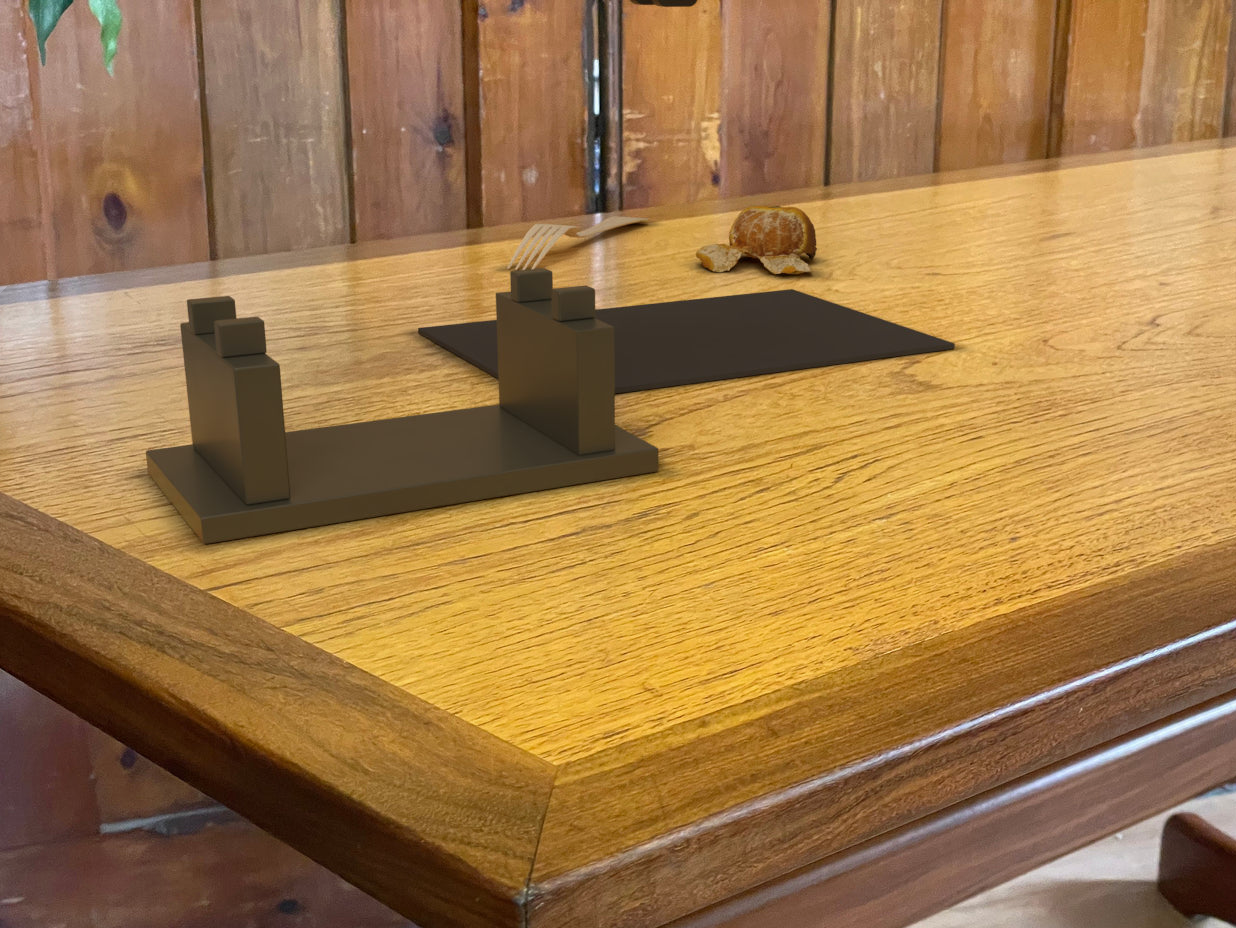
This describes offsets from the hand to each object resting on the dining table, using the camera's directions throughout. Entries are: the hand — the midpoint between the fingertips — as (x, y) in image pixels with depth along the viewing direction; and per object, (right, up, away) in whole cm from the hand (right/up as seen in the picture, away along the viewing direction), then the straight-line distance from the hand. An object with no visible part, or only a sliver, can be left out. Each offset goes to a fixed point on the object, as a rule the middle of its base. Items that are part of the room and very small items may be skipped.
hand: (663, 3), depth 77 cm
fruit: (+5, -8, +30) cm, 31 cm away
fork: (-7, -5, +36) cm, 37 cm away
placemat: (+1, -15, +9) cm, 18 cm away
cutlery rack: (-10, -23, -13) cm, 28 cm away
